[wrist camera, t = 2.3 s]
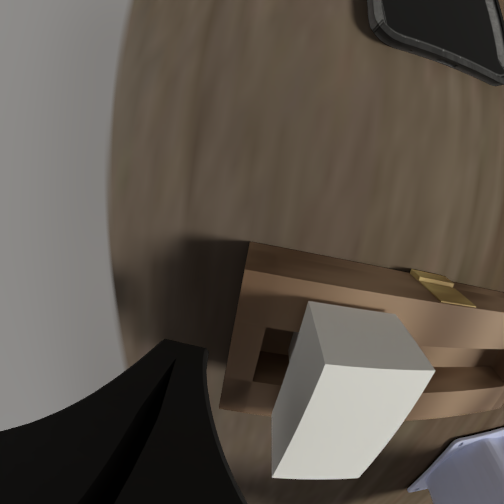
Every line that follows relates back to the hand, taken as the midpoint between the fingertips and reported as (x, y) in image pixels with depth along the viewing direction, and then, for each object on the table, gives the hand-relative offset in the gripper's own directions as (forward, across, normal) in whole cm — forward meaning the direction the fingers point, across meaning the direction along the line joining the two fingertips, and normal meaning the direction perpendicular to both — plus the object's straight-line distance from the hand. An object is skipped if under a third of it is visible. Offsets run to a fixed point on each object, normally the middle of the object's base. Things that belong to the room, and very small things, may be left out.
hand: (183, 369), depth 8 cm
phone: (+5, -7, -20) cm, 22 cm away
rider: (+3, -5, 0) cm, 6 cm away
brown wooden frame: (+4, -9, 0) cm, 10 cm away
